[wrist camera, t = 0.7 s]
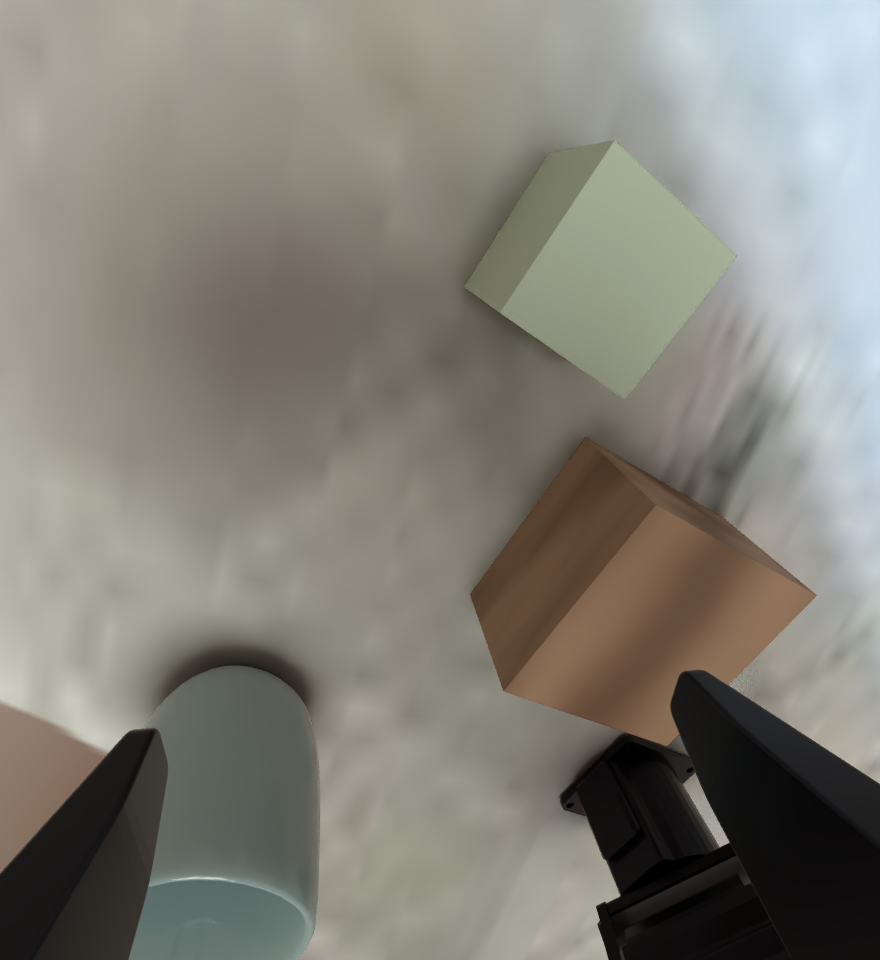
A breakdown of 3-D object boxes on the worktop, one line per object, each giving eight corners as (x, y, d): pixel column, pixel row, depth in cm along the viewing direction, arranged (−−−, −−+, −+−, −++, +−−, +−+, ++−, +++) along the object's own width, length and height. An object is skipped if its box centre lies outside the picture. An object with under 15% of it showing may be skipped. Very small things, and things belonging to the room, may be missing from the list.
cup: (219, 611, 24) (156, 846, 16) (353, 688, 28) (362, 917, 19) (113, 715, 26) (1, 981, 17) (252, 776, 29) (217, 1025, 21)
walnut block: (722, 517, 27) (817, 595, 22) (607, 648, 30) (667, 746, 24) (584, 435, 24) (656, 504, 18) (469, 592, 26) (503, 691, 21)
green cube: (650, 242, 20) (737, 255, 16) (566, 358, 22) (624, 399, 17) (548, 153, 19) (614, 140, 14) (463, 286, 20) (499, 312, 16)
